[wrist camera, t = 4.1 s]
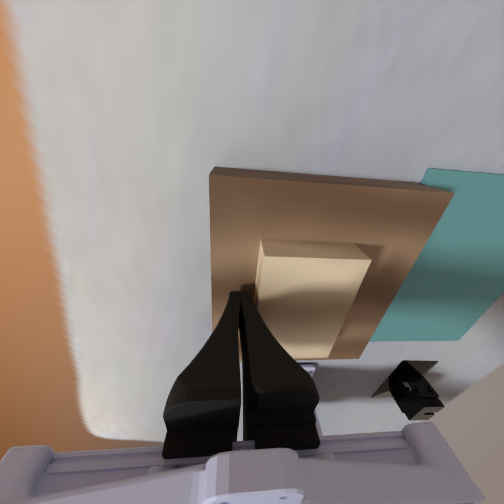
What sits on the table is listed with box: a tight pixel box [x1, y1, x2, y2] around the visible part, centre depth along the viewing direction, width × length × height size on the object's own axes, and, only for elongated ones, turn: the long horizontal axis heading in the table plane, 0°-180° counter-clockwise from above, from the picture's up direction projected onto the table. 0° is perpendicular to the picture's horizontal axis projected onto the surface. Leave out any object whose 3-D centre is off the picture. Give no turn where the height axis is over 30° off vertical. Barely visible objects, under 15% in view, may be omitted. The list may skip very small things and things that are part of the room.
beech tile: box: [253, 239, 372, 359], centre depth 14 cm, size 9×6×2 cm, turn 175°
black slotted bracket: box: [371, 360, 445, 420], centre depth 27 cm, size 12×7×5 cm, turn 172°
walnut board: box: [209, 167, 455, 361], centre depth 16 cm, size 16×14×3 cm
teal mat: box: [369, 168, 504, 341], centre depth 19 cm, size 18×14×1 cm
